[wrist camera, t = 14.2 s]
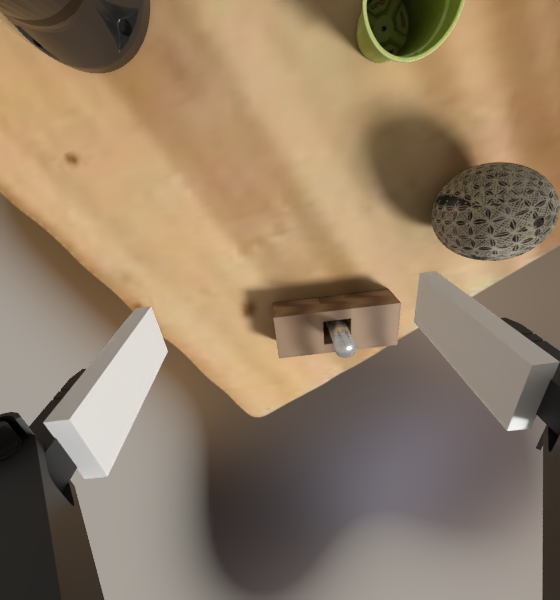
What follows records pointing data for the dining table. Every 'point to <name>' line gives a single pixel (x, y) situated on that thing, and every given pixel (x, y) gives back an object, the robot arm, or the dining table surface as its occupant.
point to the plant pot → (405, 28)
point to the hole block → (351, 307)
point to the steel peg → (341, 338)
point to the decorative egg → (495, 211)
